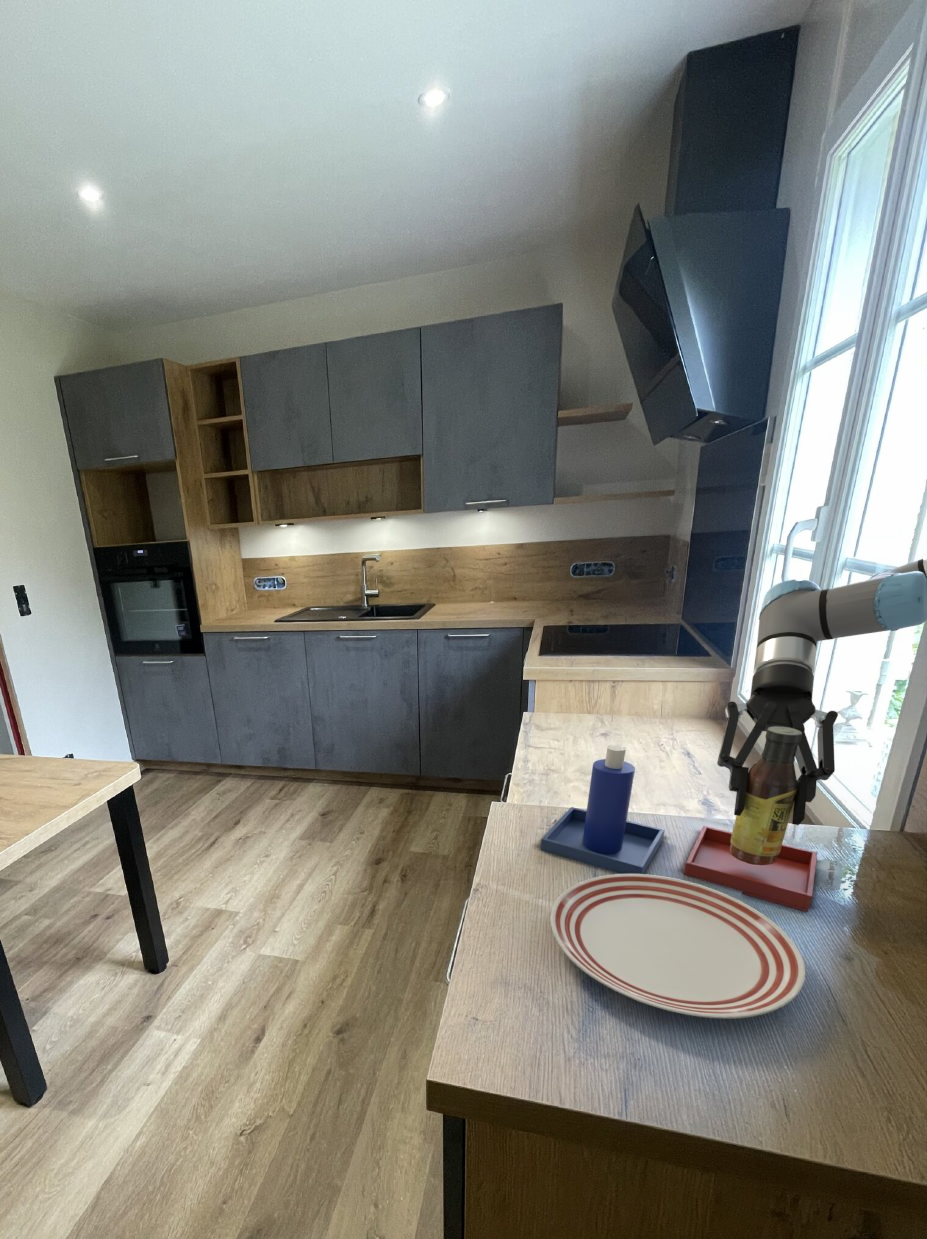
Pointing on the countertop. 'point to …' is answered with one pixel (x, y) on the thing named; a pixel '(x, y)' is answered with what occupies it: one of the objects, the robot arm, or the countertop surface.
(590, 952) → the dinner plate
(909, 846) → the countertop surface
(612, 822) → the blue bottle
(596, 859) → the blue tray
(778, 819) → the sauce bottle
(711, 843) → the red tray
